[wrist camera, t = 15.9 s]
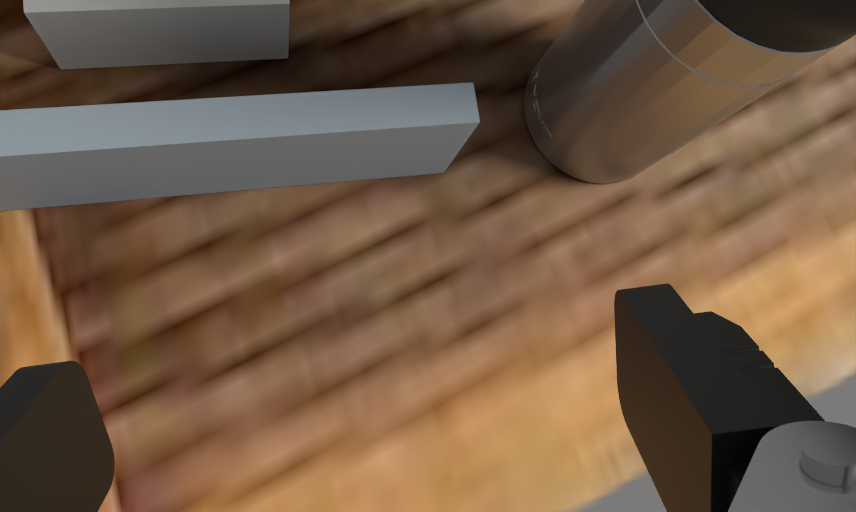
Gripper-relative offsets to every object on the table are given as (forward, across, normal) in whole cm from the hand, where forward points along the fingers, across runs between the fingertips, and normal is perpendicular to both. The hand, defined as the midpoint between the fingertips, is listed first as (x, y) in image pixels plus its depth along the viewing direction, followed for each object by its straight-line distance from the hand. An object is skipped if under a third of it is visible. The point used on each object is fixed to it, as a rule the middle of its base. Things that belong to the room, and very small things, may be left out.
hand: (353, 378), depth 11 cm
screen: (+30, +10, +4) cm, 31 cm away
